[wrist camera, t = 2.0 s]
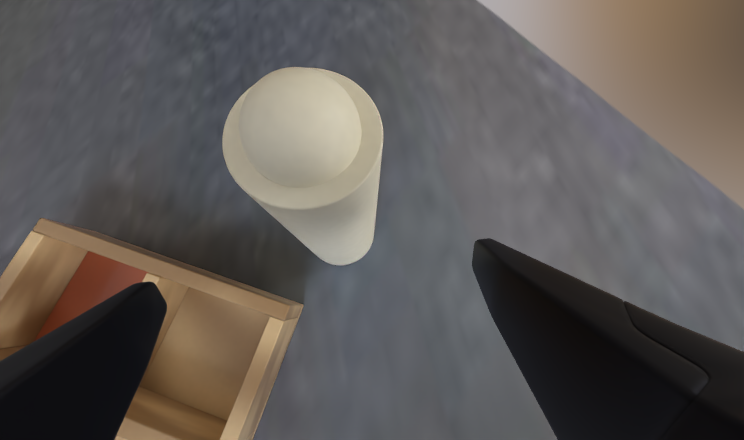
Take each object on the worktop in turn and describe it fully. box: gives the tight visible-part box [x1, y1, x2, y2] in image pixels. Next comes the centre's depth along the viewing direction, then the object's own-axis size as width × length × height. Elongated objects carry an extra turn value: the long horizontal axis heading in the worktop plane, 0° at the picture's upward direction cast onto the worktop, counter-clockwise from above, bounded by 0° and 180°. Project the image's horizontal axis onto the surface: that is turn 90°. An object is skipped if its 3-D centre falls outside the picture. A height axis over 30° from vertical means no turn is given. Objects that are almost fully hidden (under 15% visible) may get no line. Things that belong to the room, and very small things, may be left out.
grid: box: [0, 218, 304, 440], centre depth 15 cm, size 15×15×3 cm
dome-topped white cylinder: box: [223, 67, 383, 265], centre depth 13 cm, size 4×4×14 cm
